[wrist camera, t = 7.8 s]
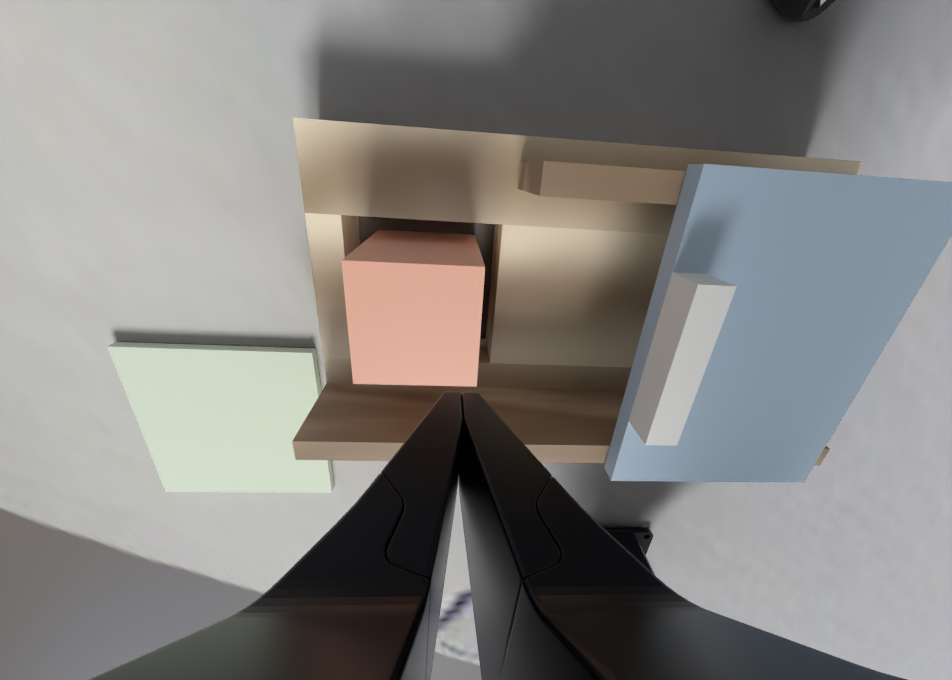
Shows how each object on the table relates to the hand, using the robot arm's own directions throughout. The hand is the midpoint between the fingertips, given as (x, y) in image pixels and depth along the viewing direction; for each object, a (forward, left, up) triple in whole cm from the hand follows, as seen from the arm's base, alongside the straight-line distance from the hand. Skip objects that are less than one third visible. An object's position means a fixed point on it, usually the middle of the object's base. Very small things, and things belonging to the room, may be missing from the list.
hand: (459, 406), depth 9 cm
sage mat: (-10, +14, -12) cm, 21 cm away
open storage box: (0, -5, -12) cm, 13 cm away
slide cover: (0, -11, -5) cm, 12 cm away
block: (0, +2, -12) cm, 13 cm away
